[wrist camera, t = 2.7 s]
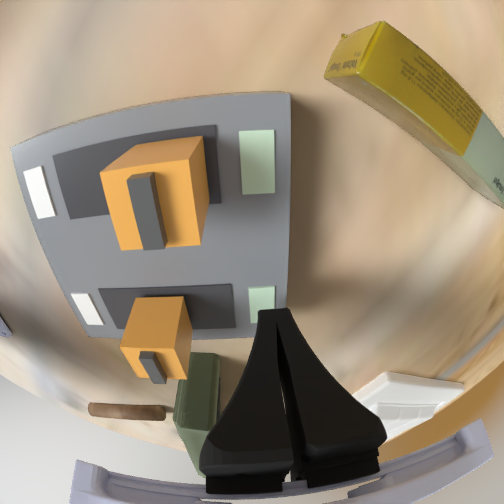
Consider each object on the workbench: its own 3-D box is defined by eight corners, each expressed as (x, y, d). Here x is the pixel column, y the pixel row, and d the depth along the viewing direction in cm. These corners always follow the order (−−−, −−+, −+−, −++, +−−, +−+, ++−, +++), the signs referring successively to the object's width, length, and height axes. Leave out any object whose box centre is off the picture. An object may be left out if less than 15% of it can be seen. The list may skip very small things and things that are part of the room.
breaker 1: (147, 205, 10) (116, 258, 7) (135, 144, 9) (93, 178, 6) (209, 200, 10) (199, 253, 7) (202, 135, 9) (185, 164, 6)
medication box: (489, 156, 12) (533, 180, 9) (472, 189, 13) (513, 219, 10) (341, 31, 9) (382, 15, 6) (317, 78, 10) (352, 76, 7)
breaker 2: (149, 330, 14) (136, 384, 11) (135, 297, 13) (117, 354, 10) (192, 330, 14) (186, 386, 11) (183, 296, 13) (172, 356, 10)
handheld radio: (225, 351, 20) (223, 444, 34) (182, 347, 20) (200, 442, 34) (221, 433, 15) (221, 484, 29) (168, 427, 15) (197, 482, 28)
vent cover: (469, 397, 28) (374, 454, 38) (461, 380, 31) (370, 439, 41) (394, 394, 21) (272, 459, 31) (383, 366, 24) (270, 438, 34)
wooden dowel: (88, 415, 25) (87, 401, 26) (97, 416, 26) (97, 403, 27) (158, 420, 24) (157, 404, 25) (166, 421, 25) (165, 405, 26)
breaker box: (100, 309, 17) (88, 337, 15) (39, 133, 10) (8, 148, 8) (279, 303, 17) (284, 336, 15) (280, 91, 10) (291, 93, 8)
